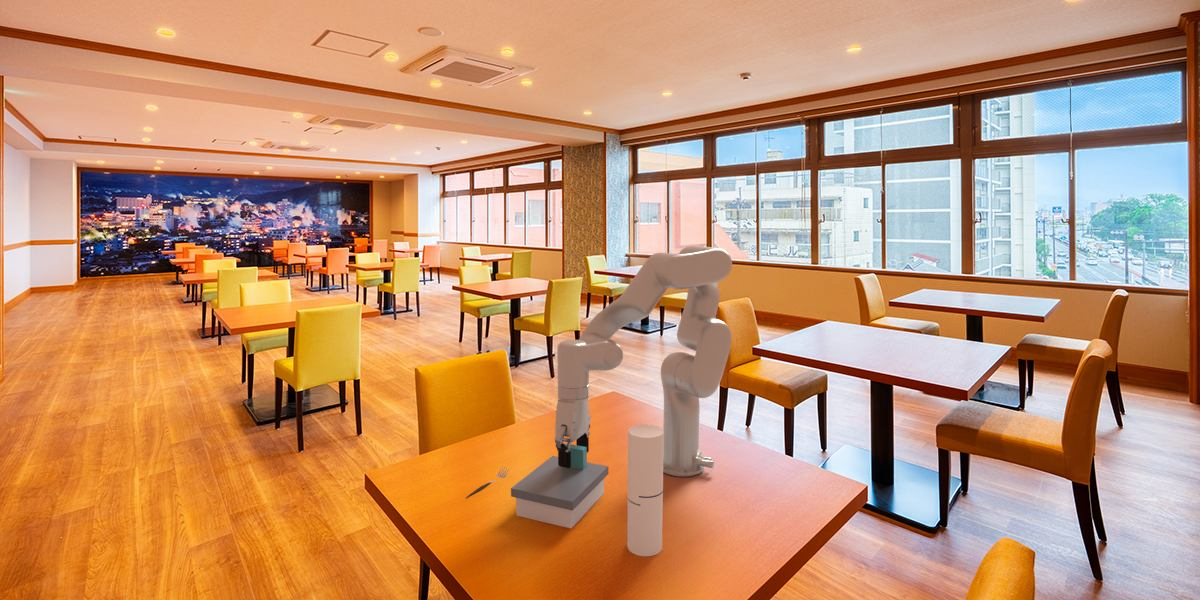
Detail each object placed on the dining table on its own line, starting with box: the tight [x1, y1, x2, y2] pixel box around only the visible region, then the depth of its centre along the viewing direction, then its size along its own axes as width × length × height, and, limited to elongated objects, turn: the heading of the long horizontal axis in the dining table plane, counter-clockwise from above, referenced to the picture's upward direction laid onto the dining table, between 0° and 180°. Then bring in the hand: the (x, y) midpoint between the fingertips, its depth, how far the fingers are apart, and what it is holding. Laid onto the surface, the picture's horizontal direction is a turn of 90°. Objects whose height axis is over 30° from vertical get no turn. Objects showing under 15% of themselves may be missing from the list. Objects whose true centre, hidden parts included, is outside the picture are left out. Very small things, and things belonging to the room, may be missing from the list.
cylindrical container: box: [626, 424, 664, 557], centre depth 118 cm, size 7×7×25 cm
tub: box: [515, 478, 605, 530], centre depth 138 cm, size 14×18×6 cm
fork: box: [465, 466, 510, 499], centre depth 148 cm, size 3×16×2 cm, turn 152°
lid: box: [510, 442, 609, 511], centre depth 137 cm, size 16×20×7 cm
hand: (573, 458), depth 143 cm, fingers open, 9 cm apart
